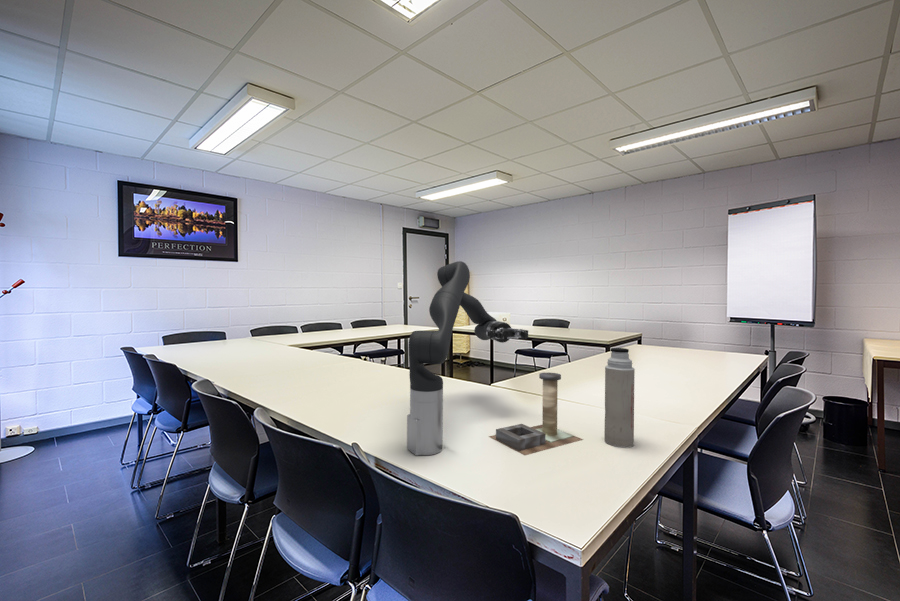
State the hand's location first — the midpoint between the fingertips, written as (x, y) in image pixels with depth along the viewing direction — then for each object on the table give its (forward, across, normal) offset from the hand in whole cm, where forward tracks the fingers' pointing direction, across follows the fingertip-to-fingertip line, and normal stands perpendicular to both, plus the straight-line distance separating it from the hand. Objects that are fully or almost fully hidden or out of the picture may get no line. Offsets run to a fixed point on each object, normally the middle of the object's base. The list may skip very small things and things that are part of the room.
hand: (514, 335), depth 130 cm
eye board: (+16, +1, +30) cm, 34 cm away
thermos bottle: (+21, +25, +30) cm, 45 cm away
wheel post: (+14, +7, +29) cm, 32 cm away
